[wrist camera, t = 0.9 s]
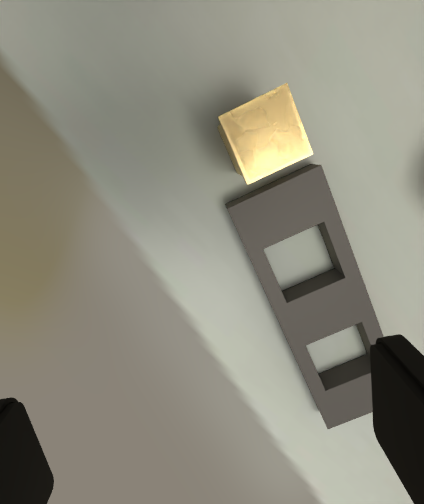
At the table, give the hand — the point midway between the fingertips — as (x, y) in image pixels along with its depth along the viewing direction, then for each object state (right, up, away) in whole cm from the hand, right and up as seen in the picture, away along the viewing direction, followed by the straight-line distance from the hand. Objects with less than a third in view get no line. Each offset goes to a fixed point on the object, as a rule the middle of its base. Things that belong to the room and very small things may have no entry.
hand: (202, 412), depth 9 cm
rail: (+10, 0, +24) cm, 26 cm away
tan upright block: (+3, +13, +19) cm, 24 cm away
